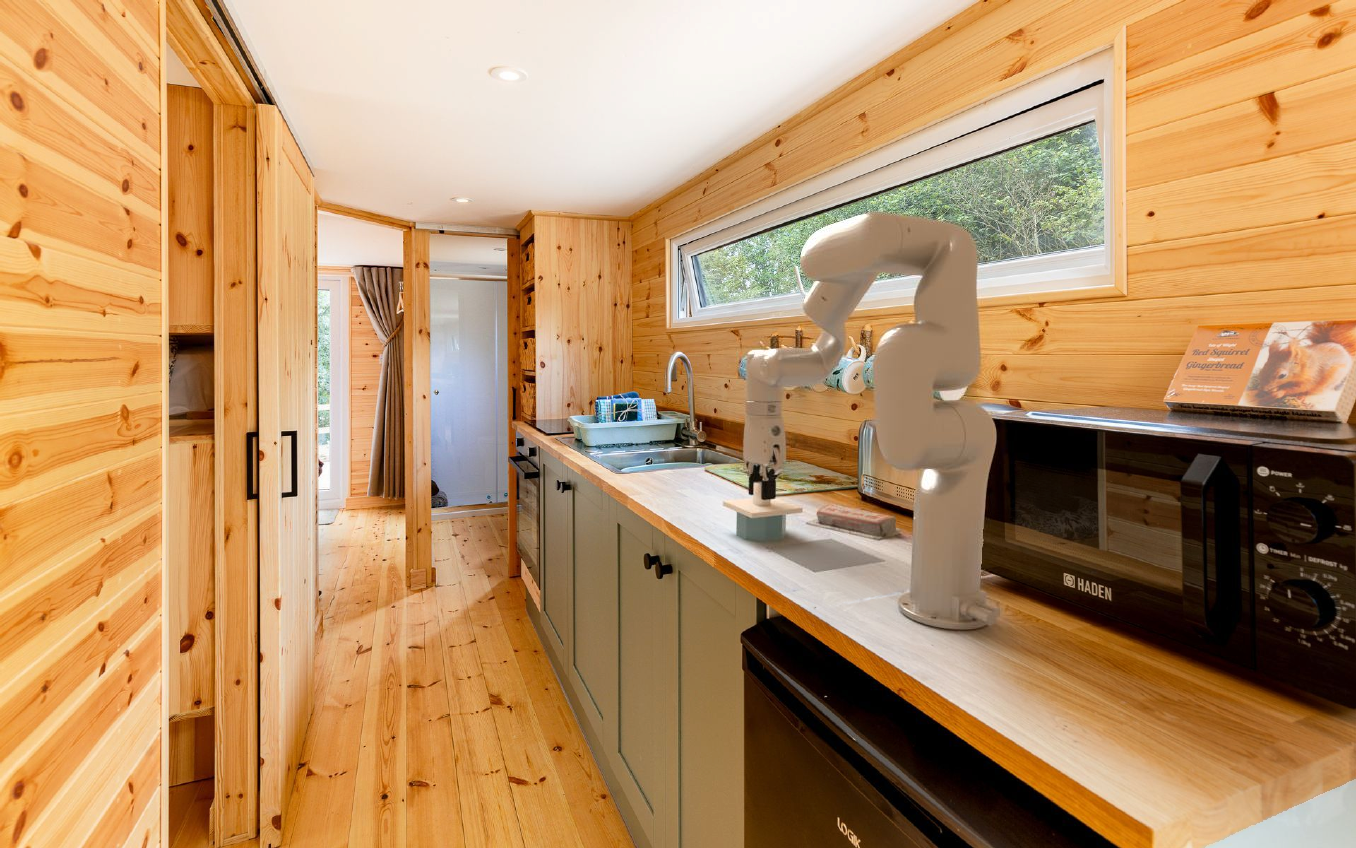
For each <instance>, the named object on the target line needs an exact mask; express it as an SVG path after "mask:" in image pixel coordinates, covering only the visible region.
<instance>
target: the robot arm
mask: <svg viewBox="0 0 1356 848" xmlns="http://www.w3.org/2000/svg"><path fill="white" fill-rule="evenodd" d="M978 262H979V261H978V250H977V246H976V243H975V241H974V238H973V237H972V236H971V234H970V233H969V232H968V231H967V229H965V228H964V227H962V226H960V225H957V224H955V223H953V222H947V221H943V220H938V219H934V218H933V219H932V218H928V217H919V216H913V215H904V214H898V213H897V214H896V213H892V212H882V211H873V212H872V211H871V212H867V213H861V214H859V215H855V216H853V217H851V218H847V219H845V220H842V221H838V222H835V223H832V224H830V225H826V226H824V227H823V228H822V227H821V228H820V229H818V230H817V231H815V232H814V233H813V234H811V236H810V237H809V238H808V239H807V240H806V242H805V244H804V245H803V248H802V250H801V253H800V261H799V263H800V270H801V271H802V273H803V275H804V276H805V277H806V278H807V279H808V280H810V281H812V282H813V281H814V282H813V284H812V285H811V287H810V289H809V290H808V292H807V294H806V295H805V297H804V299H803V301H802V309H803V311H804V314H805V315H806V316H807V318H808V319H809V320H810V322H812V323H813V324H814V325H816V327H818V328H820V329H822V331H821V333H820V335H819V337H818V338H817V340H816V341H815V343H814V344H813V345H812V346H811V347H810V348H808V347H807V348H804V347H803V348H801V347H788V348H787V347H783V348H782V347H779V348H776V347H775V348H768V349H752V350H750V351H749V352H748V353H747V355H746V360H745V361H746V363H745V366H746V367H745V368H746V369H745V413H744V416H745V421H744V428H743V429H744V430H743V441H742V443H743V444H742V452H743V453H742V454H743V455H742V460H743V462H744V463H745V466H746V469H747V476H748V496H753V492H754V482H759V481H761V499H762V500H770V499H775V498H777V496H776V495H777V481H778V479H779V478H778V476H779V475H780V473H782V471H784V470H785V466H784V465H785V464H786V462H787V461H786V460H787V446H786V445H787V440H786V439H787V438H786V429H785V428H786V427H785V421H784V417H783V391H784V390H783V389H784V388H791V387H792V388H793V387H796V388H797V387H815V386H818V385H820V384H822V383H823V382H824V381H826V379H828V378H829V377H830V376H831V374H832V373H833V372H834V370H835V369H836V368H837V366H838V365H839V363H840V362H841V360H842V358H843V357H844V353H845V352H846V351H845V350H846V346H847V330H846V323H847V320H848V319H849V318H850V317H851V315H852V314H853V312H854V311H855V309H856V308H857V307H858V305H859V304H860V302H861V300H862V299H863V298H864V296H865V295H866V293H867V292H868V291H869V289H870V288H871V287H872V285H873V284H874V282H875V281H876V279H877V278H878V276H879V275H880V273H882V274H893V275H906V276H907V275H908V276H920V277H921V278H920V280H919V282H918V285H917V287H916V289H915V293H914V297H913V299H914V300H913V312H914V323H913V322H911V323H910V322H908V323H901V324H897V325H895V326H893V327H891V328H890V329H889V330H887V331H886V332H885V333H884V334H883V335H882V336H881V338H880V339H879V341H878V343H877V345H876V348H875V351H874V354H873V361H872V381H873V382H872V384H873V402H874V415H875V416H874V417H875V418H874V419H875V431H876V438H877V439H876V440H877V443H878V448H879V451H880V453H881V455H882V457H883V458H884V460H885V461H886V462H887V463H888V464H889V465H891V466H892V467H893V468H895V469H897V470H900V471H906V472H913V471H914V472H915V471H916V472H917V471H921V473H920V475H919V477H918V480H917V484H916V487H915V493H914V499H913V500H914V501H913V503H914V504H913V522H912V525H913V527H912V541H911V542H912V543H911V544H912V545H911V566H910V568H911V569H910V583H909V584H910V587H909V588H910V589H909V592H906V593H903V594H902V595H901V596H900V597H899V599H898V606H897V607H898V609H899V611H900V612H901V613H902V614H903V615H904V616H906V617H907V618H909V619H910V620H913V621H915V622H917V623H920V624H924V625H928V626H931V627H935V628H940V629H947V630H961V631H962V630H963V631H964V630H965V631H966V630H975V629H979V628H983V627H985V626H989V627H990V626H991V627H992V626H993V625H995V623H996V621H997V618H999V616H1000V614H1001V609H1000V608H999V607H997V606H994V605H991V604H988V603H987V591H985V590H983V589H981V581H982V580H981V578H982V577H981V576H982V572H981V564H982V547H983V529H984V526H985V515H986V514H985V512H986V511H985V510H986V498H987V488H988V480H989V473H990V470H991V465H992V462H993V458H994V454H995V450H996V445H997V428H996V424H995V422H994V420H993V418H992V416H991V414H989V412H988V411H987V410H986V409H985V408H984V407H982V406H981V405H979V404H978V403H977V404H976V403H974V402H972V401H971V402H970V401H967V400H957V399H953V400H952V399H951V400H947V399H946V400H934V392H950V391H956V390H957V391H959V390H961V389H965V388H967V387H969V386H971V385H973V383H974V382H975V381H976V380H977V379H978V377H979V374H980V372H981V365H982V364H981V362H982V360H981V359H982V358H981V357H982V355H981V354H982V353H981V351H982V350H981V337H980V335H981V333H980V318H979V305H978V292H977V289H978V288H977V287H978V286H977V284H978V281H977V278H978ZM769 469H770V470H769ZM984 530H985V529H984Z"/></svg>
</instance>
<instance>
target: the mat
mask: <svg viewBox="0 0 1356 848" xmlns="http://www.w3.org/2000/svg"><path fill="white" fill-rule="evenodd" d="M764 548H765V549H767V550H769V551H771V552H774V554H777V555H780V557H783V558H785V559H788V560H789V561H791V562H793V563H795V564H798V565H799V566H801V567H803V568H805V569H807V570H809V571H811V572H814V573H819V572H824V571H832V570H838V569H844V568H850V567H855V566H856V567H857V566H862V565H869V564H875V563H882V562H886V560H885V559H882V558H880V557H877V556H875V555H872V554H871V553H868V552H865V551H863V550H861V549H858V548H855V547H853V546H851V545H848V544H845V543H843V542H841V541H838V540H836V539H833V538H824V539H818V540H810V541H802V542H795V543H789V544H786V543H785V544H780V545H773V546H766V547H764Z"/></svg>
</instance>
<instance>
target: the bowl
mask: <svg viewBox="0 0 1356 848" xmlns="http://www.w3.org/2000/svg"><path fill="white" fill-rule="evenodd" d="M786 524H787V514H786V515H777V516H768V517H759V518H750V517H748V516H746V515H743V514H741V513H739V512H737V511H736V536H737V537H739V538H741V539H743V540H745V541H750V542H758V543H759V542H760V543H768V542H776V541H778V542H779V541H782V540H783V539H784V537H785V536H786V528H787V525H786Z"/></svg>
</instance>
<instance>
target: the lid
mask: <svg viewBox="0 0 1356 848" xmlns="http://www.w3.org/2000/svg"><path fill="white" fill-rule="evenodd" d="M722 506H724V507H726V508H728V509H730V510H733V511H735V512H736V513H737V512H739V513H741V514H743V515H746V516H748V517H750V518H759V517H768V516H777V515H786V516H787V515H792V514H793V515H795V514H802V513H803V510H804V509H803V507H802V506H798V505H796V504H793V503H790V502H787V501H785V500H782V499H779V498H777V497H776V498H775V499H770V500H762V499H761V481H759V482H754V492H753V495H752V497H748V498H739V499H730V500H729V499H728V500H727V499H726V500H723V501H722Z"/></svg>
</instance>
